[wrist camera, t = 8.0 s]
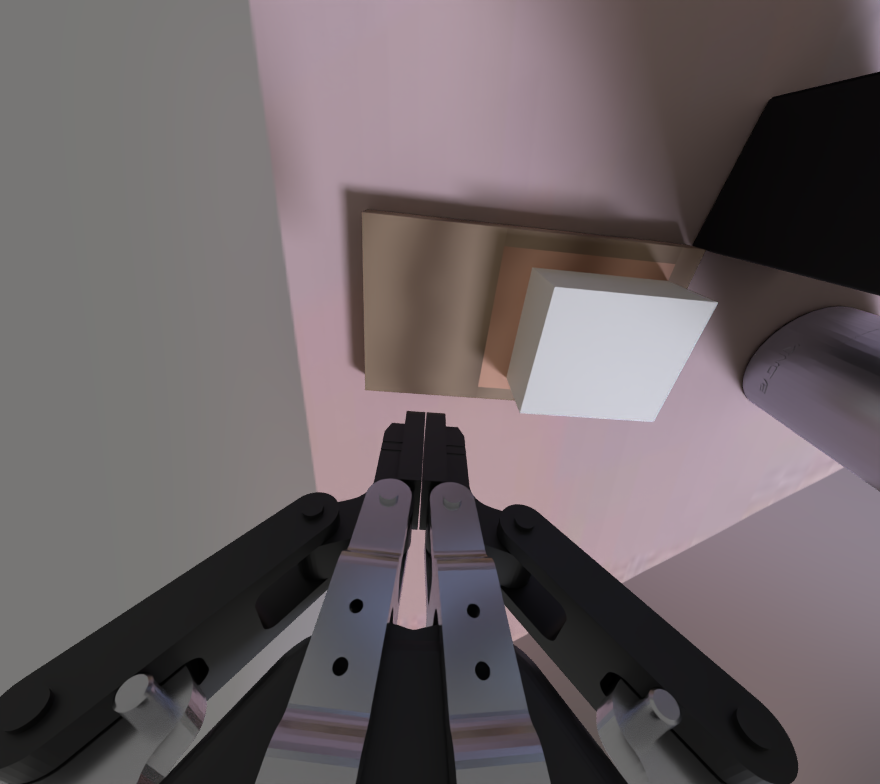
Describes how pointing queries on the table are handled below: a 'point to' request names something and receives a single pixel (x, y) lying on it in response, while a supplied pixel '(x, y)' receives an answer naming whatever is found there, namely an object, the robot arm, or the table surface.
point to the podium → (474, 294)
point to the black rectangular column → (808, 188)
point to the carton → (602, 344)
